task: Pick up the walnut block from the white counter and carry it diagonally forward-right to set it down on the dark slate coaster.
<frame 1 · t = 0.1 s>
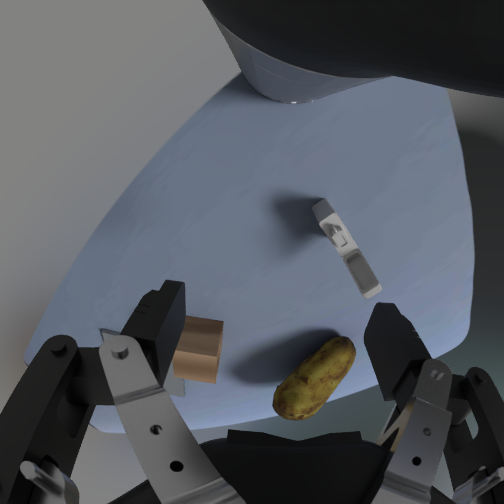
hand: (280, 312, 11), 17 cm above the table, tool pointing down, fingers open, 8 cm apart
coaster: (145, 364, 39), on the table
block: (203, 332, 35), on the table
lighter: (336, 229, 28), on the table
potato: (312, 359, 37), on the table
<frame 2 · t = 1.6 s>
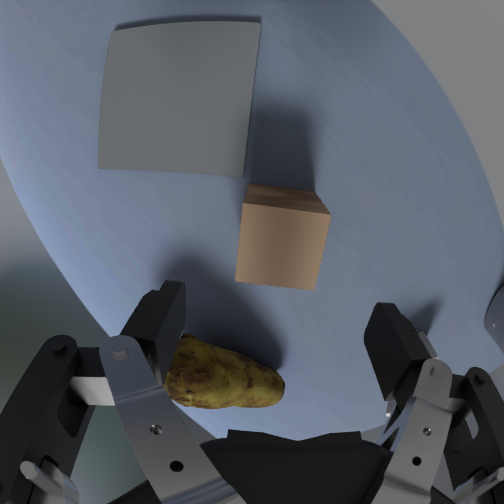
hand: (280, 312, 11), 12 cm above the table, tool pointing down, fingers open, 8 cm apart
coaster: (172, 94, 18), on the table
block: (278, 218, 22), on the table
lighter: (398, 349, 28), on the table
potato: (227, 352, 29), on the table
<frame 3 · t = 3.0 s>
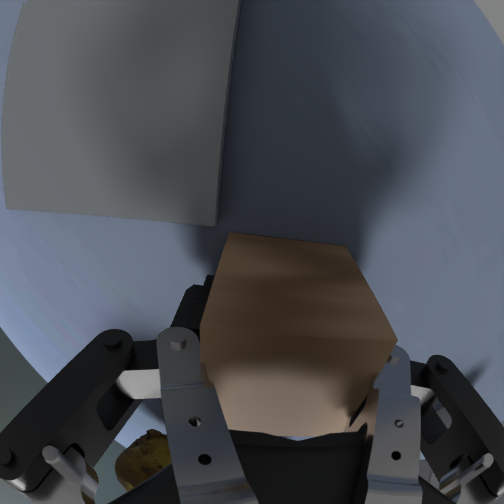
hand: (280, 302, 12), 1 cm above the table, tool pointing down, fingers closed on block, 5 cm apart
coaster: (95, 79, 9), on the table
block: (279, 289, 13), on the table, touching gripper
lighter: (425, 419, 19), on the table
potato: (212, 435, 19), on the table
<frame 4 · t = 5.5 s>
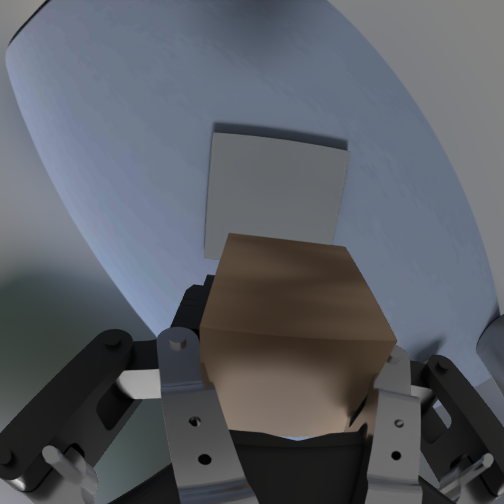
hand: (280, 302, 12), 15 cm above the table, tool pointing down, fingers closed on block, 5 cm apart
coaster: (273, 203, 26), on the table
block: (279, 290, 13), point 15 cm above the table, touching gripper
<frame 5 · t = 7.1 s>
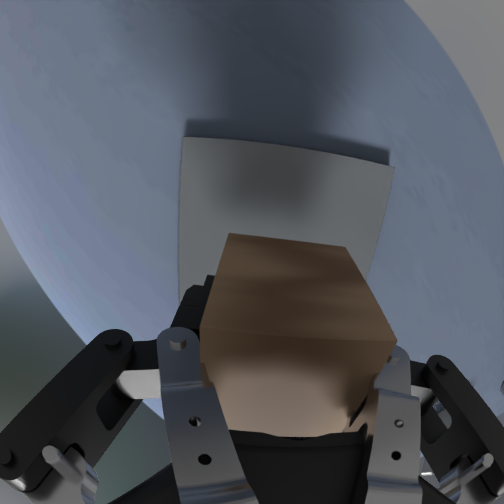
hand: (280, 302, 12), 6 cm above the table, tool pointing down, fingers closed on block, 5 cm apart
coaster: (278, 244, 18), on the table
block: (279, 290, 13), point 5 cm above the table, touching gripper
lighter: (431, 418, 27), on the table
when the fingers open (3 cm above the table, at t = 8.3 s): block stays where it is, resting on coaster.
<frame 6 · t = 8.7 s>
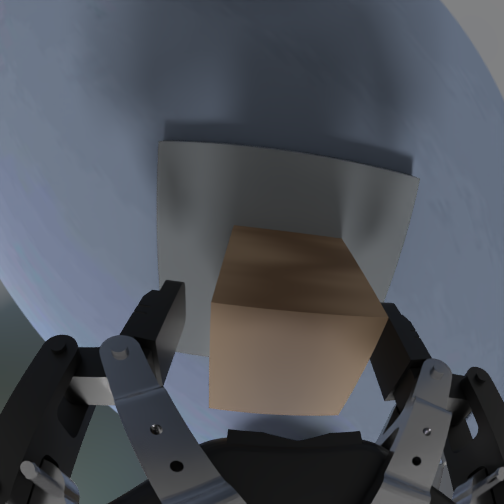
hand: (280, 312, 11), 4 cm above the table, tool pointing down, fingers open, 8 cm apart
coaster: (277, 270, 15), on the table
block: (280, 279, 14), point 1 cm above the table, touching coaster
lighter: (438, 436, 24), on the table
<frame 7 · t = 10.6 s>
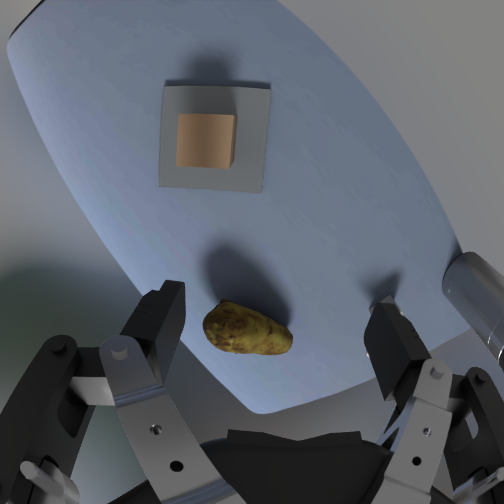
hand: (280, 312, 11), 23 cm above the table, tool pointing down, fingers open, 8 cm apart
coaster: (212, 137, 30), on the table
block: (213, 138, 29), point 1 cm above the table, touching coaster
lighter: (373, 310, 40), on the table
potato: (249, 315, 41), on the table
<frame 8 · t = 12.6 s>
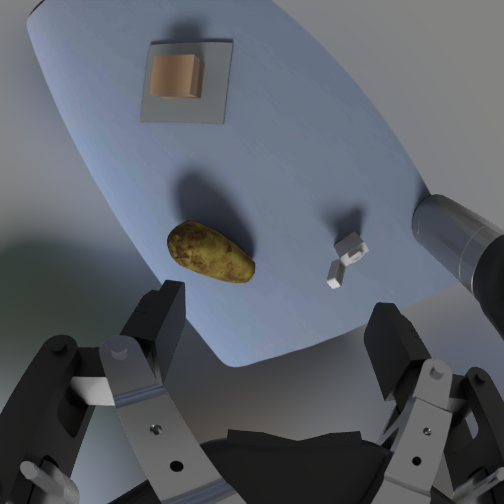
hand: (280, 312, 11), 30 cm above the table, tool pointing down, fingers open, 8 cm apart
coaster: (185, 81, 33), on the table
block: (184, 81, 32), point 1 cm above the table, touching coaster
lighter: (338, 247, 43), on the table
potato: (216, 244, 43), on the table
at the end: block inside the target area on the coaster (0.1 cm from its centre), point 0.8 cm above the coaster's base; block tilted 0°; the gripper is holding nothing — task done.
